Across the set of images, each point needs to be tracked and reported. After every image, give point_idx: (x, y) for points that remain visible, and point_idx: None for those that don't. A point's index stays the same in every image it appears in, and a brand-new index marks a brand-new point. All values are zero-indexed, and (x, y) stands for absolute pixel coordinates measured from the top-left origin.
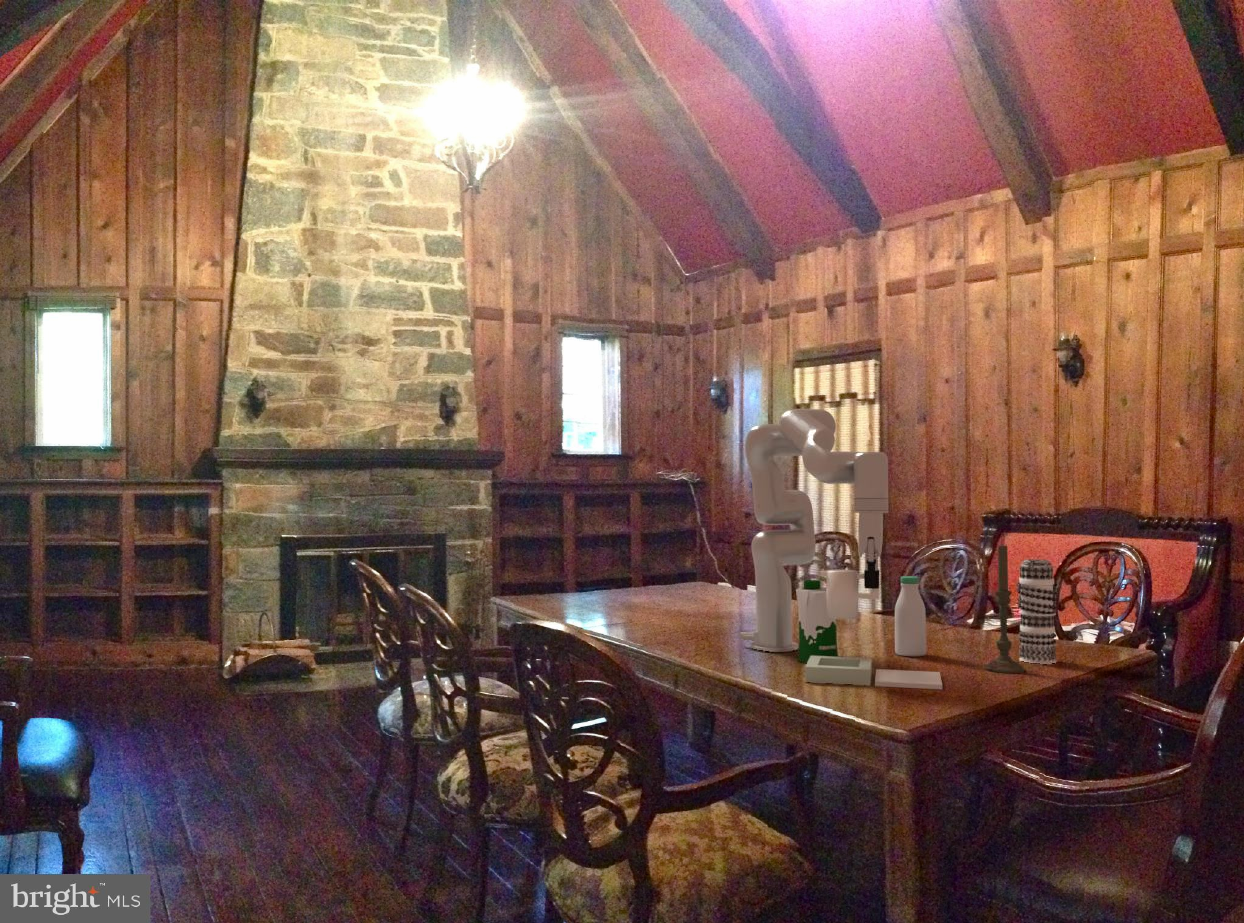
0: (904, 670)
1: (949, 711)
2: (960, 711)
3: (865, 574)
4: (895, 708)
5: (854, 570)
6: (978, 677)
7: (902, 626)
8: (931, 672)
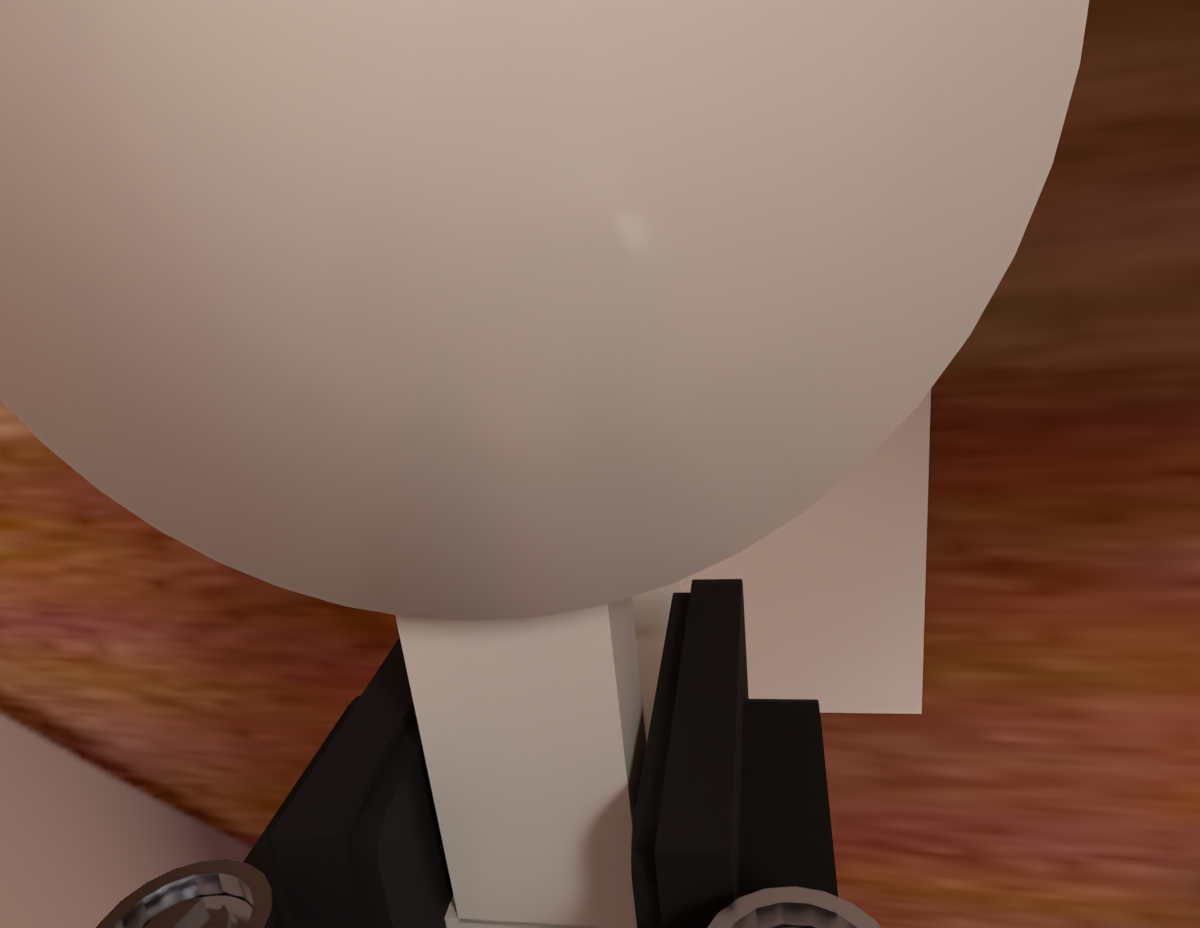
0: (925, 513)
1: (92, 697)
2: (116, 737)
3: (334, 778)
4: (15, 480)
5: (820, 497)
6: (941, 877)
7: None
8: (893, 669)
